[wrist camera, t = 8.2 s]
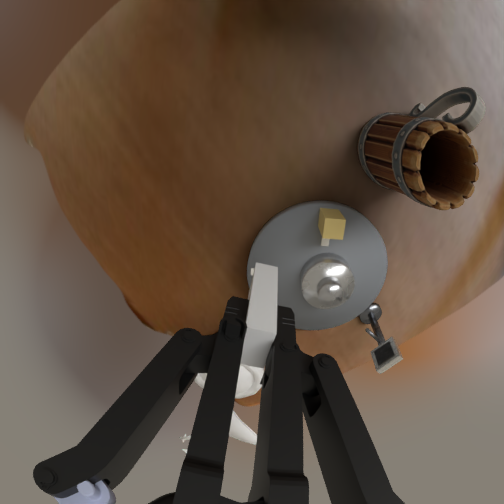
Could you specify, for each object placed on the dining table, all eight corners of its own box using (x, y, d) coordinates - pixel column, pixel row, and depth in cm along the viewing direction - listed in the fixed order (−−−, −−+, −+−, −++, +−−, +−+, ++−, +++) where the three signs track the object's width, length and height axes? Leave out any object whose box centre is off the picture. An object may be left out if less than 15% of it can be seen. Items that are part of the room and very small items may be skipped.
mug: (397, 201, 35) (451, 243, 21) (340, 158, 33) (380, 179, 20) (447, 120, 28) (515, 127, 15) (395, 72, 27) (454, 51, 13)
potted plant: (192, 337, 49) (151, 454, 27) (227, 302, 45) (191, 440, 22) (244, 369, 52) (227, 482, 29) (284, 340, 47) (281, 470, 25)
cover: (304, 250, 35) (307, 269, 31) (354, 254, 35) (364, 273, 30) (297, 294, 38) (299, 316, 34) (344, 297, 38) (350, 319, 33)
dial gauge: (384, 311, 43) (407, 362, 32) (366, 324, 44) (384, 377, 33) (363, 289, 41) (386, 342, 30) (345, 304, 43) (361, 359, 32)
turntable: (250, 195, 35) (244, 208, 29) (395, 208, 33) (413, 223, 28) (247, 318, 44) (242, 344, 38) (365, 323, 42) (374, 347, 37)
